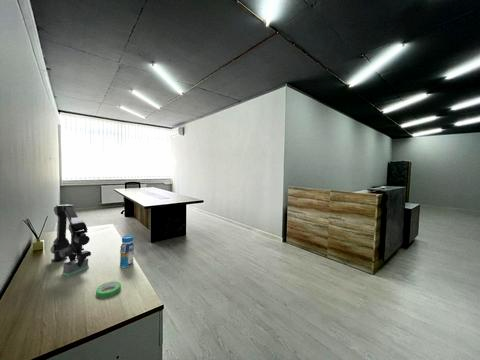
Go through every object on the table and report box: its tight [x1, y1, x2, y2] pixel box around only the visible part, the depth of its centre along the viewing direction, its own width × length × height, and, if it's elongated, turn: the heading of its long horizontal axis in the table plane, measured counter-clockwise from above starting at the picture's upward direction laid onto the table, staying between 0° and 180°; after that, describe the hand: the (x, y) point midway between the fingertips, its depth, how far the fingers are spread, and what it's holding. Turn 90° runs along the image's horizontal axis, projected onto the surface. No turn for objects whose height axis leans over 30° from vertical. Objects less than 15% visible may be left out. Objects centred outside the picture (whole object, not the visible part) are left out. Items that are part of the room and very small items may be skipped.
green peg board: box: [61, 264, 90, 277], centre depth 124 cm, size 5×12×4 cm, turn 160°
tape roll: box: [95, 280, 122, 299], centre depth 105 cm, size 11×11×3 cm
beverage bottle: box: [119, 235, 135, 269], centre depth 135 cm, size 8×8×20 cm
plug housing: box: [62, 257, 89, 274], centre depth 124 cm, size 5×11×5 cm, turn 160°
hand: (76, 265), depth 124 cm, fingers open, 7 cm apart
